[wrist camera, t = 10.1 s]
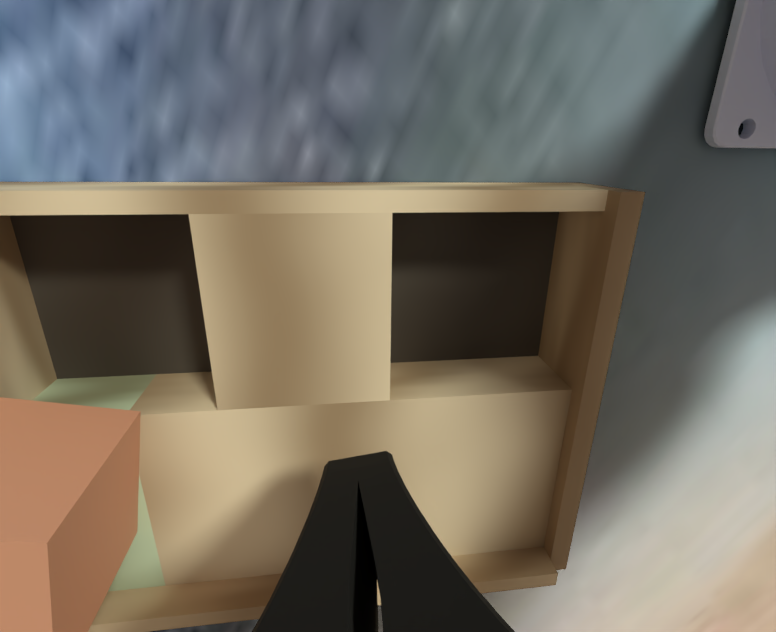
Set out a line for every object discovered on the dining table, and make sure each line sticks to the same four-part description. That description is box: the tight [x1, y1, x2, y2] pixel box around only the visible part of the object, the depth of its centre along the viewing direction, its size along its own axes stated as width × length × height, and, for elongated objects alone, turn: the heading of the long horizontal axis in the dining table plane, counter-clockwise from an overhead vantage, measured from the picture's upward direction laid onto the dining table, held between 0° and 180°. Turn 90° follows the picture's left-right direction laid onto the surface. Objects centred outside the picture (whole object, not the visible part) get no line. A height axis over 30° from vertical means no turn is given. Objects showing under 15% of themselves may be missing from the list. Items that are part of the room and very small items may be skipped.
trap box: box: [0, 182, 645, 632], centre depth 12 cm, size 18×12×5 cm
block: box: [0, 397, 141, 632], centre depth 10 cm, size 4×4×4 cm
